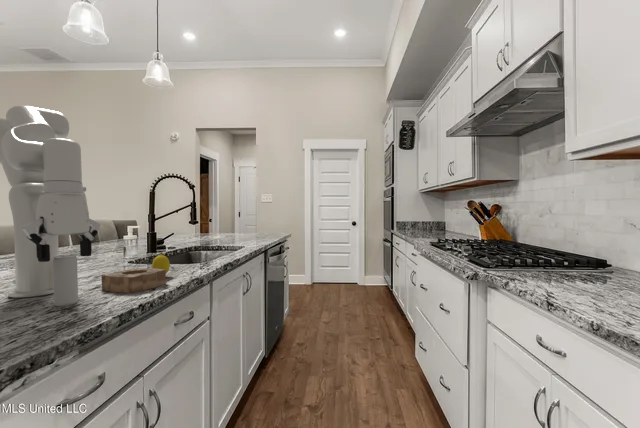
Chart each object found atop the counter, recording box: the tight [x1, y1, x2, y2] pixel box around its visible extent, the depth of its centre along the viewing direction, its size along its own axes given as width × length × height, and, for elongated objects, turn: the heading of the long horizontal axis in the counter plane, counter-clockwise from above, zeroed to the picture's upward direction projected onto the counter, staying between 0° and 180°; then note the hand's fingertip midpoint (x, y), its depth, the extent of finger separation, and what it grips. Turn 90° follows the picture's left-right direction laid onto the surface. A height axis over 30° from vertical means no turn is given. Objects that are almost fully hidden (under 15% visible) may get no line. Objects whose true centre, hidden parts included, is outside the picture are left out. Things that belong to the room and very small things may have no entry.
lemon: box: [151, 253, 171, 274], centre depth 113 cm, size 6×6×8 cm
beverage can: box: [53, 254, 79, 307], centre depth 81 cm, size 5×5×12 cm
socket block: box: [101, 267, 167, 294], centre depth 99 cm, size 13×13×4 cm
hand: (66, 258), depth 81 cm, fingers open, 9 cm apart
